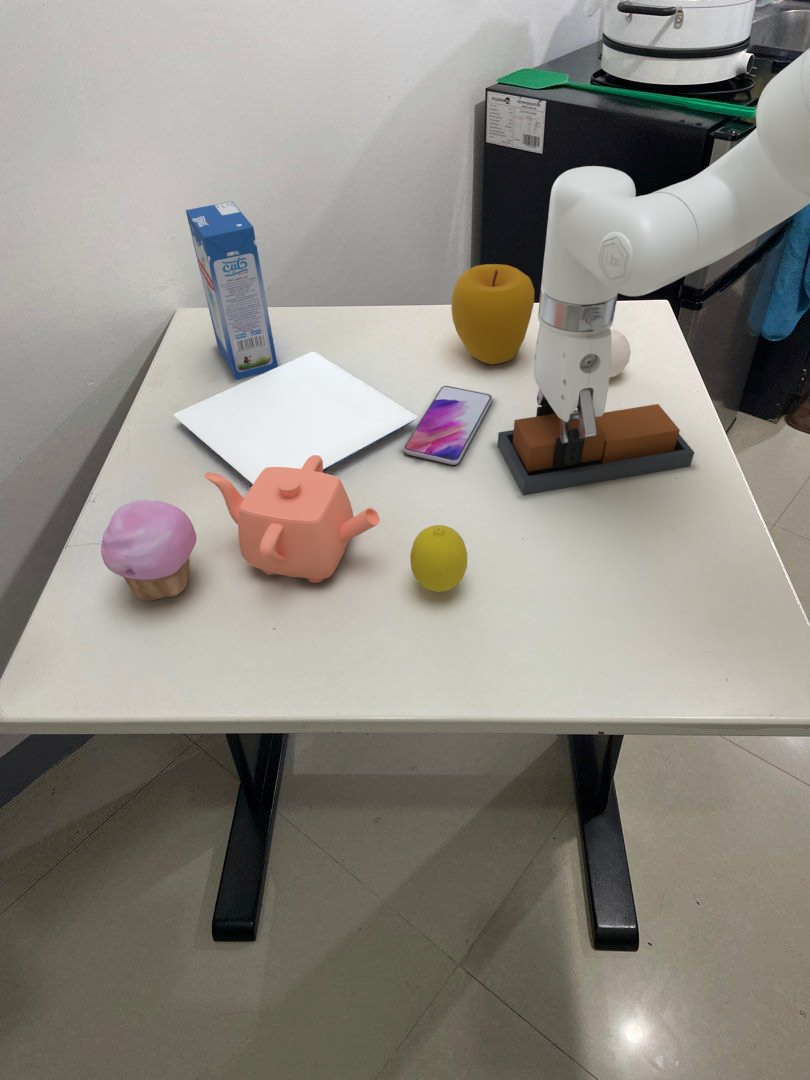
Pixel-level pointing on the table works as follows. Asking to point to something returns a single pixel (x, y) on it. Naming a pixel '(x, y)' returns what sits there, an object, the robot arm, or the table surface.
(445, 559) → the lemon
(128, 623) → the table surface
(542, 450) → the brown brick
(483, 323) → the apple
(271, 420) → the plate
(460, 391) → the smartphone
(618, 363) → the light bulb
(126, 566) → the cupcake
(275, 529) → the teapot
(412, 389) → the table surface
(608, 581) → the table surface
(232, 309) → the milk carton
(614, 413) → the brown rectangular block
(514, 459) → the frame
